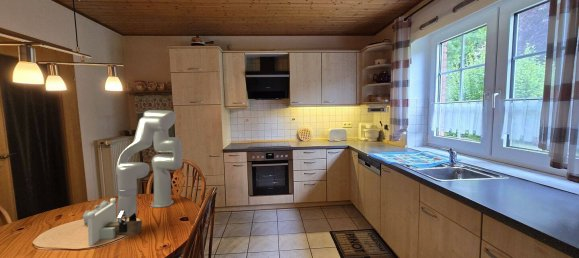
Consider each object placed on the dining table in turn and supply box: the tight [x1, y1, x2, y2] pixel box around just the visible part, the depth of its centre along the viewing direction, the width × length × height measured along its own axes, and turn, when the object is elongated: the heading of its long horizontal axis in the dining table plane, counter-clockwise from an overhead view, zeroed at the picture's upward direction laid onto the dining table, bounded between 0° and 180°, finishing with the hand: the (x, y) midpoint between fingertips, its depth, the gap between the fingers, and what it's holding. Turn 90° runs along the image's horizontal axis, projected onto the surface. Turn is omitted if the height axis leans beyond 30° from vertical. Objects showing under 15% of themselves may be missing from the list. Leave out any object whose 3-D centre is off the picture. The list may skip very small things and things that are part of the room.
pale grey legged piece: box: [87, 197, 118, 247], centre depth 117 cm, size 20×7×14 cm, turn 10°
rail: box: [105, 220, 143, 237], centre depth 119 cm, size 14×4×5 cm, turn 100°
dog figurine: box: [82, 200, 110, 227], centre depth 130 cm, size 5×13×11 cm, turn 147°
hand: (128, 227), depth 119 cm, fingers open, 9 cm apart
